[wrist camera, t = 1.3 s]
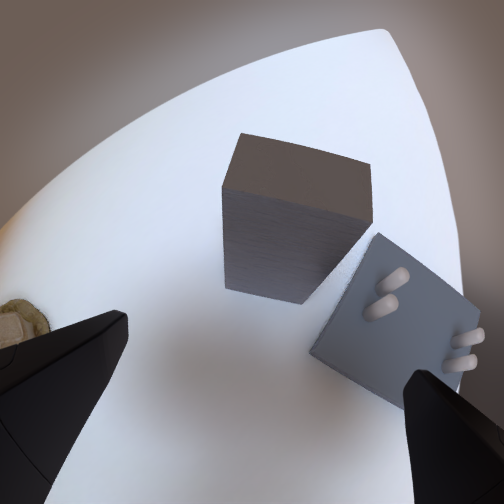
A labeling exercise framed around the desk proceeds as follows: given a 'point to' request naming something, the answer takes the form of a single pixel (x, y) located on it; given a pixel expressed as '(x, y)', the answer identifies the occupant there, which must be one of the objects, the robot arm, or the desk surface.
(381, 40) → the desk surface
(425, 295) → the grey pegged stand
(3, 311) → the ceramic model
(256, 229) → the block
